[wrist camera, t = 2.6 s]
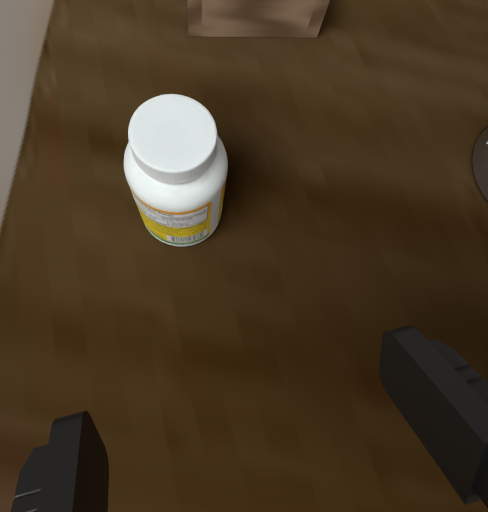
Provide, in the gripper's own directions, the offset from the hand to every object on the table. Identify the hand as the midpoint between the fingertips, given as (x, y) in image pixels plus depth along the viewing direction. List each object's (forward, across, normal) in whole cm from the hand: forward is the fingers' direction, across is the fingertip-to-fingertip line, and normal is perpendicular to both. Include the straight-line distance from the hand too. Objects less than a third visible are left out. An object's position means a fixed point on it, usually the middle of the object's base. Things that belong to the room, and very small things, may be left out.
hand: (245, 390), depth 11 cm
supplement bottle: (+18, 0, +3) cm, 19 cm away
